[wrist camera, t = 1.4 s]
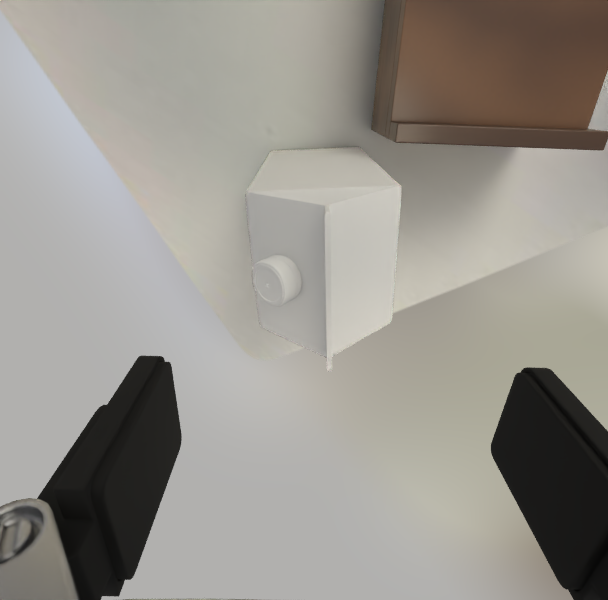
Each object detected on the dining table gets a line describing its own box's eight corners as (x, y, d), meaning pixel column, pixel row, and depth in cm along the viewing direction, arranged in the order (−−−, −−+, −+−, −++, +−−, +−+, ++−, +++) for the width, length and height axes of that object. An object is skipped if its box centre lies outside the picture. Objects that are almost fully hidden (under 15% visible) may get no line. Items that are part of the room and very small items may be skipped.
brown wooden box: (397, -122, 24) (445, -233, 16) (593, -112, 24) (740, -218, 16) (371, 130, 30) (394, 142, 22) (524, 136, 30) (603, 150, 22)
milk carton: (360, 146, 31) (428, 208, 14) (357, 233, 34) (410, 369, 17) (269, 150, 31) (227, 216, 14) (276, 236, 34) (249, 374, 17)
